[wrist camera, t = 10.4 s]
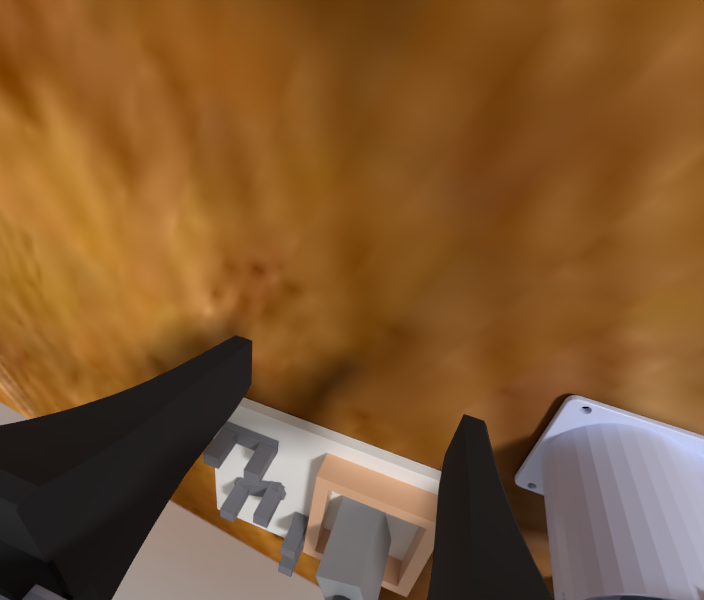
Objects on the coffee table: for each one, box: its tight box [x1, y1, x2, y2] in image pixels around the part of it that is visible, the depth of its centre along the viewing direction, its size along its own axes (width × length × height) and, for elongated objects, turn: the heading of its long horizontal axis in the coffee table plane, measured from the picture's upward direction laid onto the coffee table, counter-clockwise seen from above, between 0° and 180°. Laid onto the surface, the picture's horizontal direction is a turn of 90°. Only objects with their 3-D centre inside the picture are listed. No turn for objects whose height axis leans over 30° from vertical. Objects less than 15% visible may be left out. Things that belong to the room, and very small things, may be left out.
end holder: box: [303, 453, 438, 597], centre depth 30 cm, size 9×11×2 cm
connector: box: [316, 496, 391, 600], centre depth 29 cm, size 3×5×7 cm, turn 11°
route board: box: [203, 397, 442, 577], centre depth 32 cm, size 19×16×4 cm
